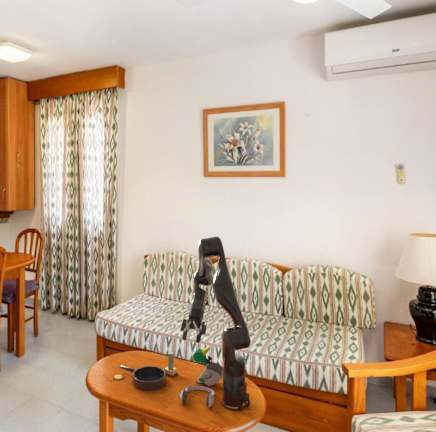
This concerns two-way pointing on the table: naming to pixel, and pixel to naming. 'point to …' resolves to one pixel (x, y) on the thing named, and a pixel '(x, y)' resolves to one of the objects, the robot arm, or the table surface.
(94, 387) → the table surface
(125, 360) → the table surface
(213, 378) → the toy
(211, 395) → the headphones
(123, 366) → the pan handle
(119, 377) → the disc
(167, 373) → the green peg on base
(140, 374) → the pan
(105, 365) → the table surface
